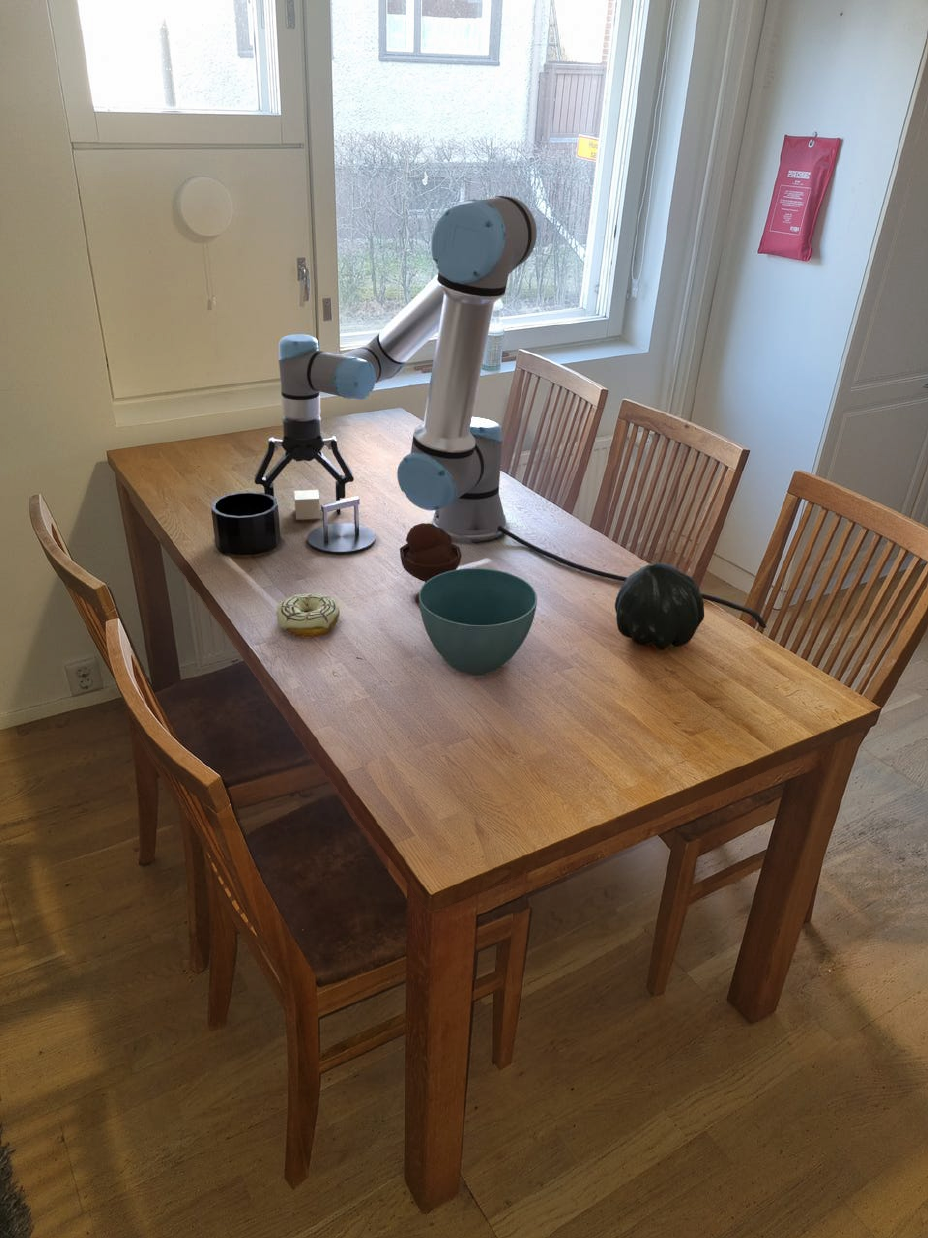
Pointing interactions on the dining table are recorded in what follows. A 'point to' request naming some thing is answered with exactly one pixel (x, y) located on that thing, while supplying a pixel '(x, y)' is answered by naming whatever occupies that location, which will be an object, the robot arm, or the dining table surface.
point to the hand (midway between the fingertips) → (306, 513)
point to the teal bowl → (477, 617)
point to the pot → (246, 523)
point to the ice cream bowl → (429, 553)
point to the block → (307, 504)
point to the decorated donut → (308, 614)
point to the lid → (341, 532)
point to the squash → (659, 606)
